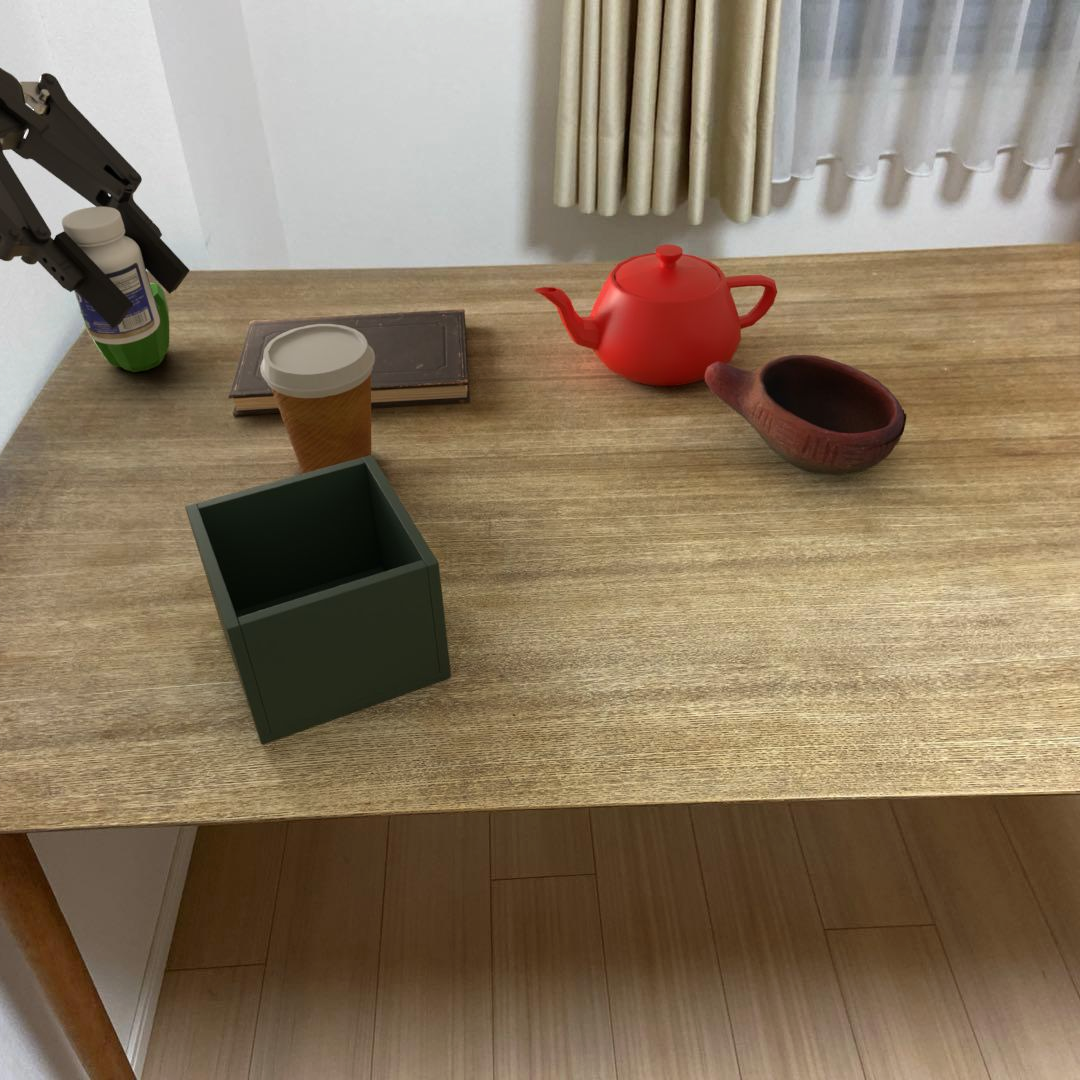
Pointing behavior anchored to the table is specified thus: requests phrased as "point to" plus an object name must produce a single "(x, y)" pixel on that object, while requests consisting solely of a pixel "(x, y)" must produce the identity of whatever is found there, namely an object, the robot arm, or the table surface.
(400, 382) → the hardcover book
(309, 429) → the disposable coffee cup
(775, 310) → the table surface
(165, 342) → the bell pepper
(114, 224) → the pill bottle
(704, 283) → the teapot
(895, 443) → the bowl
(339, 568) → the waste bin
